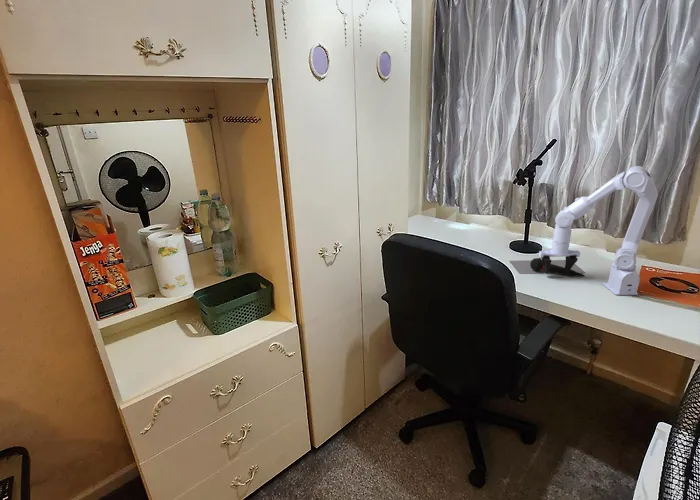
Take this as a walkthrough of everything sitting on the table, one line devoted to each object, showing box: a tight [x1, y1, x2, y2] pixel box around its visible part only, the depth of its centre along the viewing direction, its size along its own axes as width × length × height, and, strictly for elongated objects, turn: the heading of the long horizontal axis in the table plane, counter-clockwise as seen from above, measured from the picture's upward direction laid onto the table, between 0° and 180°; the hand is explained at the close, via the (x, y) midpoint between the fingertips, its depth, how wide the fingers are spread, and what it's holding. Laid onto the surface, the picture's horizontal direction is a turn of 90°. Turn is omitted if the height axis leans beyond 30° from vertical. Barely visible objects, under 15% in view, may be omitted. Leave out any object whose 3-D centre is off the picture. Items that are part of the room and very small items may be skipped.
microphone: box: [530, 257, 586, 278], centre depth 155 cm, size 6×6×20 cm
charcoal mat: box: [509, 259, 586, 275], centre depth 163 cm, size 14×26×1 cm, turn 85°
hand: (556, 273), depth 152 cm, fingers open, 7 cm apart
